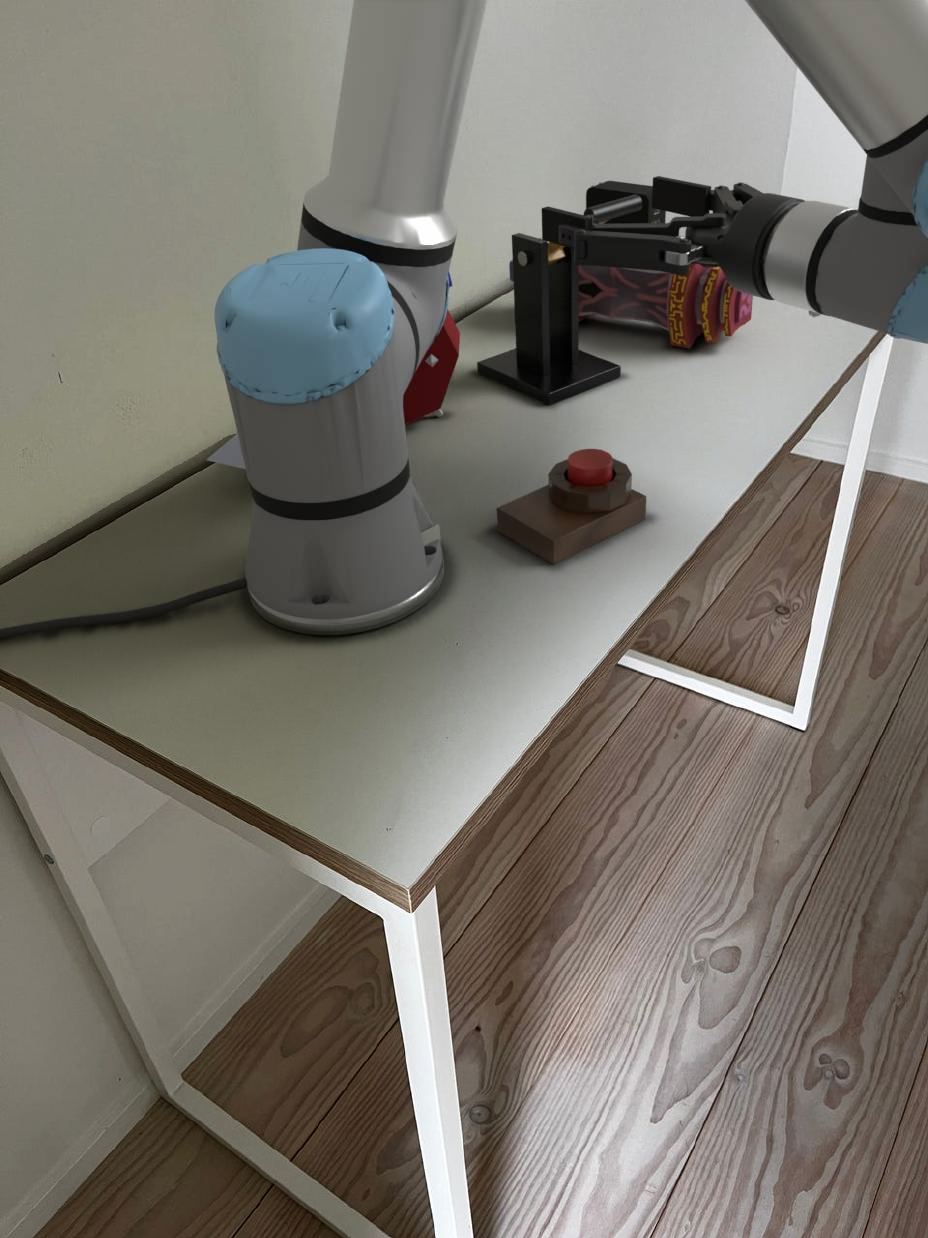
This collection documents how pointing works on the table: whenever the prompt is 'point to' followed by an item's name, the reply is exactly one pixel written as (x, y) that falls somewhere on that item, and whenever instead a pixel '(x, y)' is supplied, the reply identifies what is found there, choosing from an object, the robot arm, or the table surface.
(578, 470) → the light button
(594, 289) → the red patterned flared cylinder
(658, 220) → the electronic device
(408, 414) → the alarm clock
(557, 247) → the light lever
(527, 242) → the switch bracket
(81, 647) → the table surface
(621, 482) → the switch block
